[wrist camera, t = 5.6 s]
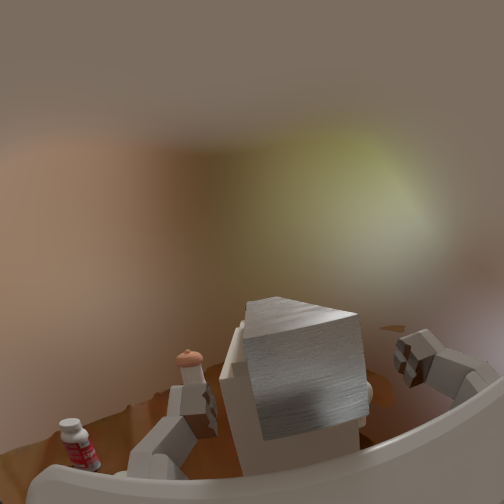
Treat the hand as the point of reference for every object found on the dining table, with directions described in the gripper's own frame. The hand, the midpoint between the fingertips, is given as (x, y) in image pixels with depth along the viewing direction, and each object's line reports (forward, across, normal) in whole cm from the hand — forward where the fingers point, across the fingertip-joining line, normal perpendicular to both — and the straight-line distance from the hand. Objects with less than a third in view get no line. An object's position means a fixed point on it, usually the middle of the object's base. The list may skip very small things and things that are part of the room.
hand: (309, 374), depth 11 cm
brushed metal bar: (+10, 0, -8) cm, 12 cm away
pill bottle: (+13, -40, -40) cm, 58 cm away
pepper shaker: (+37, -20, -54) cm, 68 cm away
